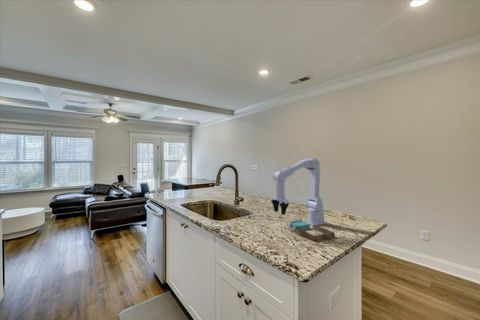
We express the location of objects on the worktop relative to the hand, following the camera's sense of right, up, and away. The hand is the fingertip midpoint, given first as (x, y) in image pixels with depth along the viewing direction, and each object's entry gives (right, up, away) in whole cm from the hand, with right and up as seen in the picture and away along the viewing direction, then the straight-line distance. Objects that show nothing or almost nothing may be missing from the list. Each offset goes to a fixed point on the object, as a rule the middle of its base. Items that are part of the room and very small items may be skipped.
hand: (279, 213), depth 127 cm
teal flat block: (+13, -10, +3) cm, 17 cm away
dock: (+18, -10, -8) cm, 22 cm away
